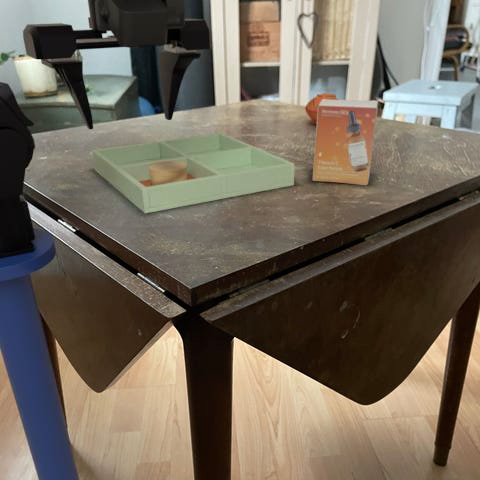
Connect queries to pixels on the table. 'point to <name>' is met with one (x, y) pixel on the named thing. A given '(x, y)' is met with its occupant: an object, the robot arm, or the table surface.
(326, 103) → the small box
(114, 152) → the grid
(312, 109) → the pot
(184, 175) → the cylinder
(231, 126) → the table surface
